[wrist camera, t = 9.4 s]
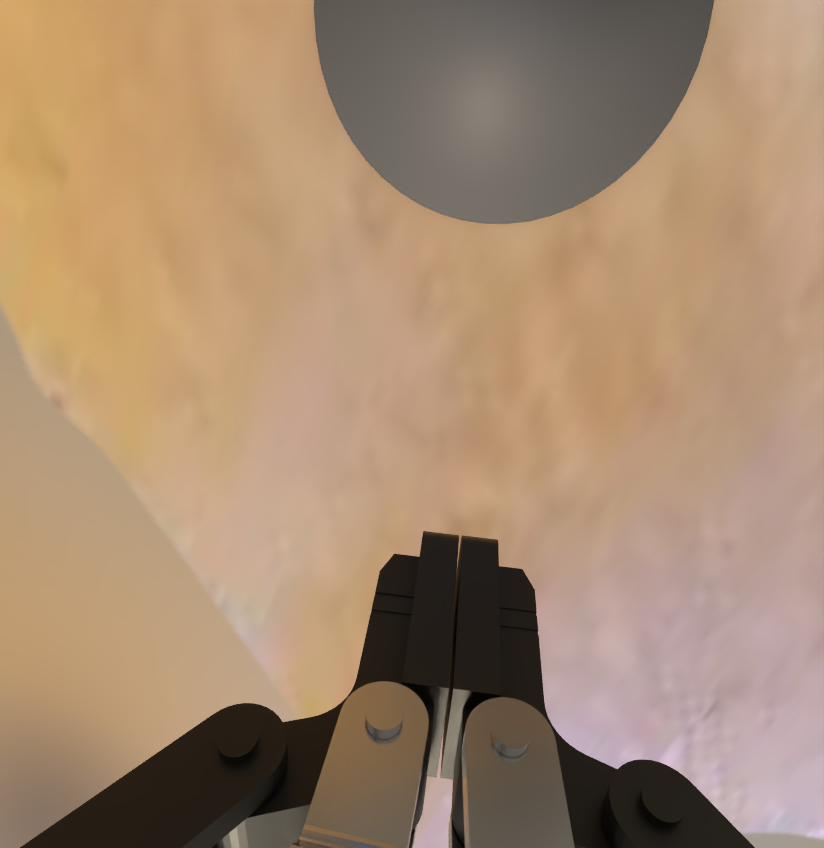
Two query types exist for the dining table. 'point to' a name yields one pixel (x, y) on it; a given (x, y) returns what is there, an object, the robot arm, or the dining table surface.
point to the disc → (507, 94)
